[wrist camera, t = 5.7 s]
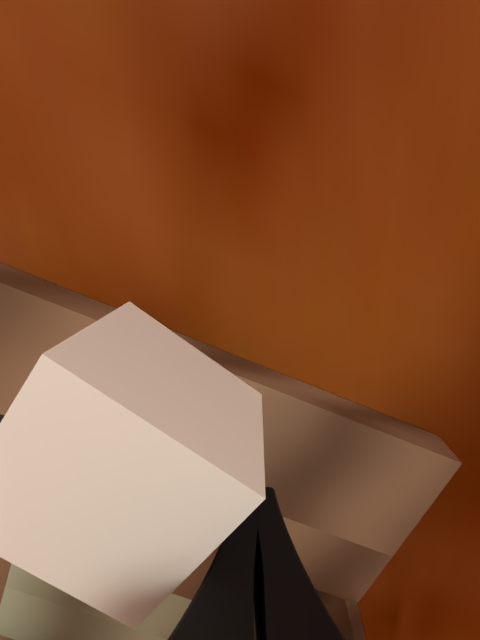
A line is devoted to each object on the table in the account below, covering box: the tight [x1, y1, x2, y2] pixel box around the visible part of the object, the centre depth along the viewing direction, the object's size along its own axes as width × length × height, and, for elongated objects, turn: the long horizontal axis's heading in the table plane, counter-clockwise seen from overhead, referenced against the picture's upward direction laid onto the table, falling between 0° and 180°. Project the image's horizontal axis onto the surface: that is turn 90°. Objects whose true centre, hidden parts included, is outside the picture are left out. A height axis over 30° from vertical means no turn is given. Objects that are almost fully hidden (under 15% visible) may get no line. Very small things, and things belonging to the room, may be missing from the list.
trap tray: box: [0, 263, 462, 640], centre depth 14 cm, size 21×18×3 cm
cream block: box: [0, 302, 266, 630], centre depth 9 cm, size 6×6×4 cm
